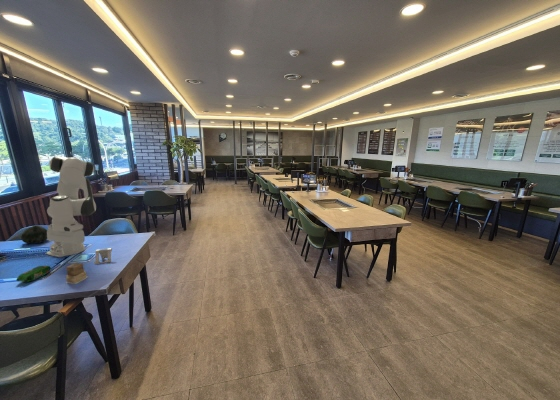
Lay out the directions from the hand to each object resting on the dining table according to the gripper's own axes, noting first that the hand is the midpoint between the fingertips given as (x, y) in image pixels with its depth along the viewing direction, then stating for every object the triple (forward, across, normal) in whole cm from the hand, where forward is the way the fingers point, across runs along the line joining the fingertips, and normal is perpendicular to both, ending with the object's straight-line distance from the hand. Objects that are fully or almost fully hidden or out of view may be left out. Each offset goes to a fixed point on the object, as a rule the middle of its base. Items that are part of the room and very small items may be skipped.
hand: (67, 249), depth 125 cm
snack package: (+21, -25, 0) cm, 33 cm away
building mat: (+20, 0, +2) cm, 20 cm away
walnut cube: (+15, +2, +2) cm, 15 cm away
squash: (+22, -86, +43) cm, 98 cm away
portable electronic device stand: (+20, -4, +24) cm, 32 cm away
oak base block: (+19, +2, +2) cm, 19 cm away
